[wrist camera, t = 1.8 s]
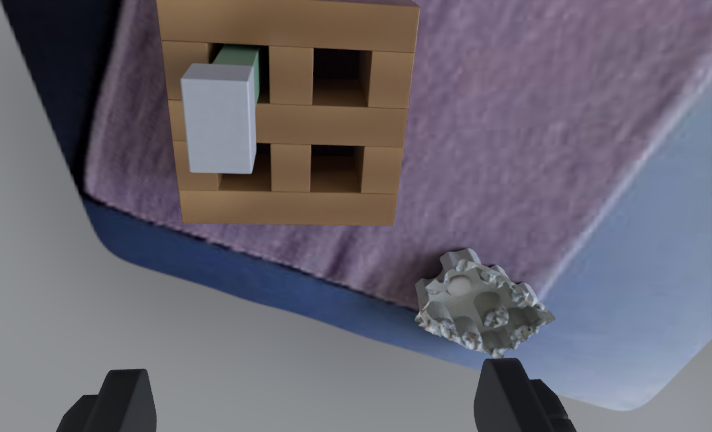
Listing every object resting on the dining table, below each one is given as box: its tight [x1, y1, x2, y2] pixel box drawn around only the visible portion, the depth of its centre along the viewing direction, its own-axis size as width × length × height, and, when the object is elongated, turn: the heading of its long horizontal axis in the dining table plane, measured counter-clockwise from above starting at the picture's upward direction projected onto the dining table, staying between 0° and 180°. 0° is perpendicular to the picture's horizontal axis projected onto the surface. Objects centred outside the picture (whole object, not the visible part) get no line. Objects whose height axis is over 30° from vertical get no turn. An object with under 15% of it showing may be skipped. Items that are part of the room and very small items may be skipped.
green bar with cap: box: [180, 43, 265, 174], centre depth 27 cm, size 4×3×14 cm, turn 176°
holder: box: [156, 0, 420, 226], centre depth 32 cm, size 14×14×6 cm
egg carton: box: [415, 248, 555, 358], centre depth 43 cm, size 11×8×4 cm
